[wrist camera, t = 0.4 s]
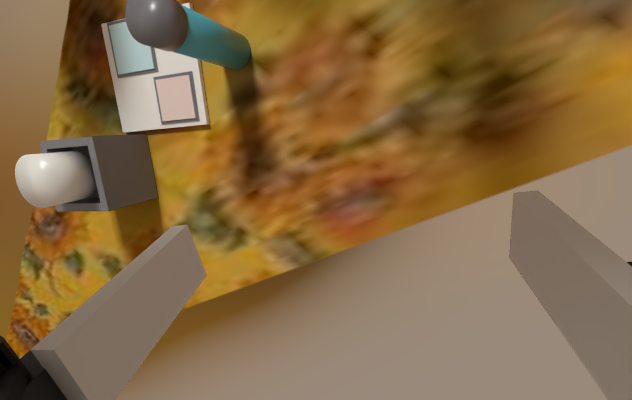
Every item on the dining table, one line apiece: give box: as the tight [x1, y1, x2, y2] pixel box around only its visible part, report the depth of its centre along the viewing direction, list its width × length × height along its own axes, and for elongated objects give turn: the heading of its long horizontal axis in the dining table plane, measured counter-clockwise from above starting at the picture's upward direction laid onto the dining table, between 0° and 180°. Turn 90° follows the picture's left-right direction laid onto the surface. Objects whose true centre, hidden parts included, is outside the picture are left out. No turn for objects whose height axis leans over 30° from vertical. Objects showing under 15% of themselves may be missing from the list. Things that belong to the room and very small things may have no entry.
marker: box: [125, 0, 251, 70], centre depth 32 cm, size 4×4×13 cm
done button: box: [15, 151, 97, 208], centre depth 38 cm, size 6×6×5 cm
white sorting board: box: [101, 3, 210, 132], centre depth 41 cm, size 14×14×1 cm
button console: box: [39, 134, 158, 211], centre depth 43 cm, size 9×9×8 cm
